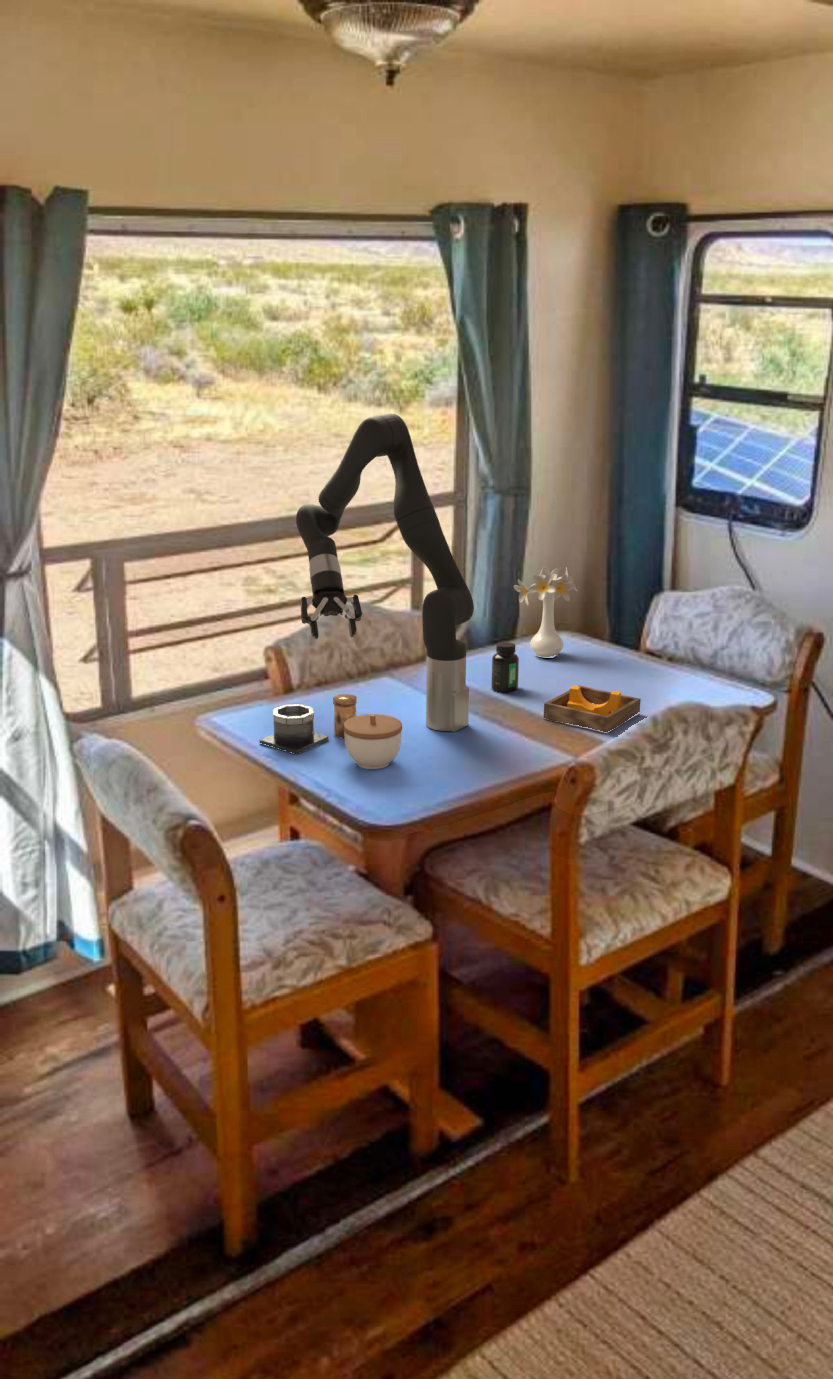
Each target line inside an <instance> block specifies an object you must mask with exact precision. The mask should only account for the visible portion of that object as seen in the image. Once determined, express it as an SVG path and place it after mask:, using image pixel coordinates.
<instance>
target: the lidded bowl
mask: <svg viewBox="0 0 833 1379" xmlns="http://www.w3.org/2000/svg"><path fill="white" fill-rule="evenodd" d="M402 730H403V723H402V721H401V720H400V719H398V718H396V717H394V716H391V715H386V714H380V713H378V714H376V713H373V714H372V713H370V714H369V713H368V714H360V715H356V716H355V717H352V718H350V719H348V720H346V721H345V723H344V736H345V738H344V745H345V749H346V751H347V754H348V755H349V757H350V758H351V759H352V760H353V762H355V763H356V765H357V766H358V767H360V768H362V769H367V770H378V769H383V768H387V767H388V766H389V765H390V764H391V762H392V761H393V760H394V759H395V758H396V757H397V755H398V753H399V751H400V748H401V742H402Z"/></svg>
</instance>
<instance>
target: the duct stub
mask: <svg viewBox="0 0 833 1379" xmlns="http://www.w3.org/2000/svg"><path fill="white" fill-rule="evenodd" d="M314 712H315V711H314V707H312V706H309V705H304V704H297V703H296V704H283V705H281V706H278V707H275V708H273V709H272V717H273V718H272V720H273V733H272V734H270V735H268V736H265V737H262V738H261V739H259V744H260V743H262V744H266V745H269V746H273V747H275V748H279V749H281V750H280V751H282V750H286V751H287V752H286V753H289V752H292V753H294V754H293V755H295V754H297V755H299V754H301V753H303V751H304V752H305V750H306V751H308V750H310V749H312V748H314V747H318V746H320V745H321V744H324V743H326V742H329V736H328V735H325V734H322V733H318V732H315V725H314V723H315V722H314V721H315V720H314V719H315V713H314ZM262 744H261V745H262ZM275 748H274V749H275ZM300 752H301V753H300ZM292 753H291V754H292ZM298 753H299V754H298Z"/></svg>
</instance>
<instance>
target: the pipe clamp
mask: <svg viewBox="0 0 833 1379" xmlns="http://www.w3.org/2000/svg"><path fill="white" fill-rule="evenodd" d="M580 686H581V685H571V686H570V687H569V690H570V693H569V702H568V703H567V707H569V708H574V709H578V710H582V711H587V712H591V713H595V714H600V715H604V716H607V715H608V714H610V713H612V712H614V711H615V710H617V709H619V708H620V700H621V695H622V691H617V690H612V691H611V692H612V693H611V694H610V698H609V701H607V702H606V703H604V704H599V705H597V704H592V703H590V702H588V701H587V700H586V699H585V698H584V697H583V695H582V693H581V690H580Z"/></svg>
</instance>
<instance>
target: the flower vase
mask: <svg viewBox="0 0 833 1379" xmlns="http://www.w3.org/2000/svg"><path fill="white" fill-rule="evenodd" d="M559 572H560V568H559V567H557V568H554V569H553V570H552V571H551V572H550V570H549V568H548V567H547V566H542V568H541V570H540V572H539V574H537V573H535V574H533V576H532V579H533V581H534V583H533V584H531V585H530V586H529V587H527V586H526V585H525V584H523V582H522V581H521V579H517V583H518V585H517V584H515V585H513V589H514V590H515V591H516V592H518V593H520V594H519V595H518V602H519V603H520V604H522V603H524V601H525V604H526V605H527V606H529V604H530V603H529V597H530V596H529V595H530V594H532V593H537V598H538V600H539V601H542V615H541V616H542V617H541V624H540V627H539V629H538V631H537V633H536V634H534V635H533V636H532V638H531V640H530V643H529V646H530V649H531V650H532V651H533V653H536V655H538V656H541V657H550V656H554V655H556V654H557V655H558V654H559V653H560V652H561V651H562V650H563V648H564V642H563V639H562V637H561V636H560V635H559V633H557V631H556V627H555V621H554V613H555V612H554V610H555V608H554V607H555V606H554V605H555V601H558V600H559V599H560V598H561V597H562V598H563V599H564V600H565V601H566V602H570V601H571V596H570V593H569V592H570V591H572V590H574V591H575V592H579V591H578V589H577V587H576V584H575V583H574V581H575V580H574V578H573V576H572V575H569V570H568V567H567V566H566V567H565V573H564V574H562V575H561V576H559V577H558V574H559ZM536 655H535V656H536Z"/></svg>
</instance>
